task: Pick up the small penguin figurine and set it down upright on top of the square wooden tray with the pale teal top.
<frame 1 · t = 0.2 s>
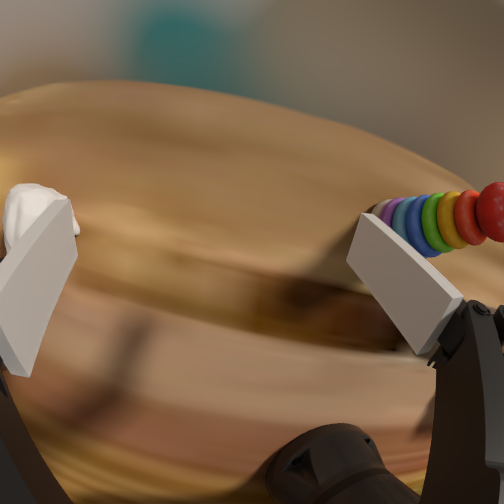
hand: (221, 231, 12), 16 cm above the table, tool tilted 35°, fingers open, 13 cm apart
stacking toy: (388, 232, 33), on the table
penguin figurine: (52, 255, 24), on the table
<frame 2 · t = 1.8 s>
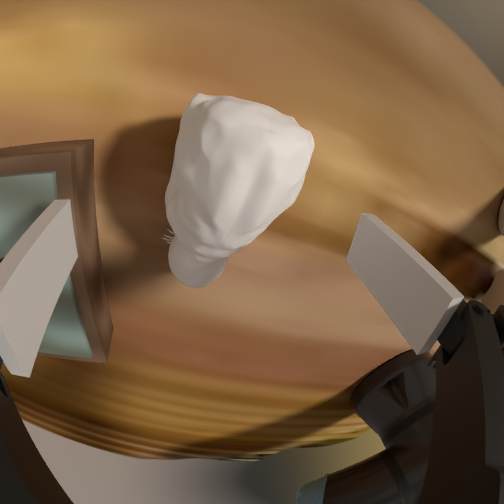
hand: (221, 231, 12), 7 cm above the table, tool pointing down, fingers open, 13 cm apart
square wooden tray: (14, 247, 17), on the table
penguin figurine: (211, 185, 19), on the table
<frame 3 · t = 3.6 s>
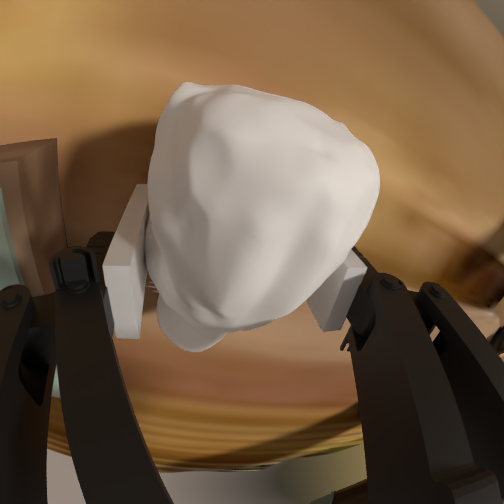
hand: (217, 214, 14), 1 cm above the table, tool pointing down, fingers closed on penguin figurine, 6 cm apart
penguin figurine: (211, 211, 14), point 1 cm above the table, touching gripper
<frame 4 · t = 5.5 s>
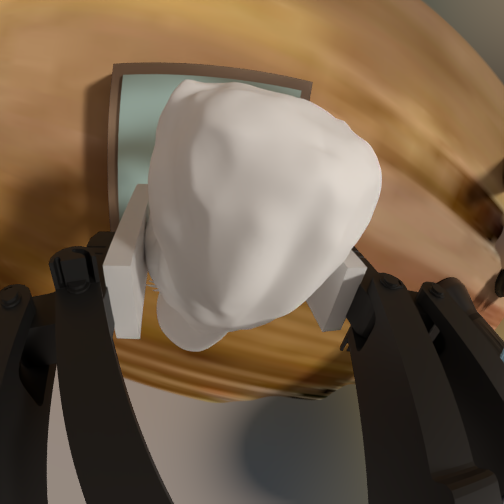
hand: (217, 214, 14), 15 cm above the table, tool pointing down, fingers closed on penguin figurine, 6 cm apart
square wooden tray: (201, 151, 26), on the table
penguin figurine: (211, 210, 14), point 14 cm above the table, touching gripper
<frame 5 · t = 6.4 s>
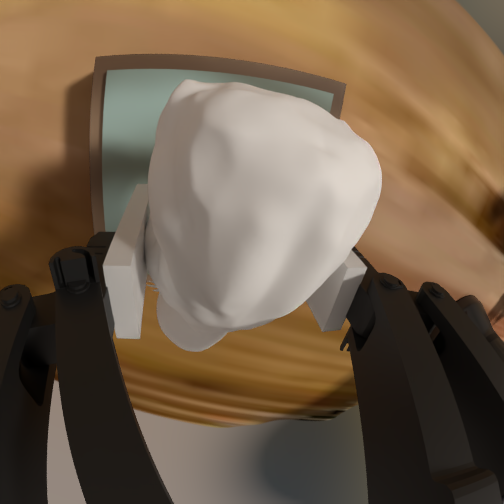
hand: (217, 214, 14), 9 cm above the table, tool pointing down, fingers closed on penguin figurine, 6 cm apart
square wooden tray: (206, 166, 22), on the table
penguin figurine: (211, 210, 14), point 9 cm above the table, touching gripper
when the fingers open (6 cm above the table, at t = 7.3 s): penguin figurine drops 1 cm, resting on square wooden tray.
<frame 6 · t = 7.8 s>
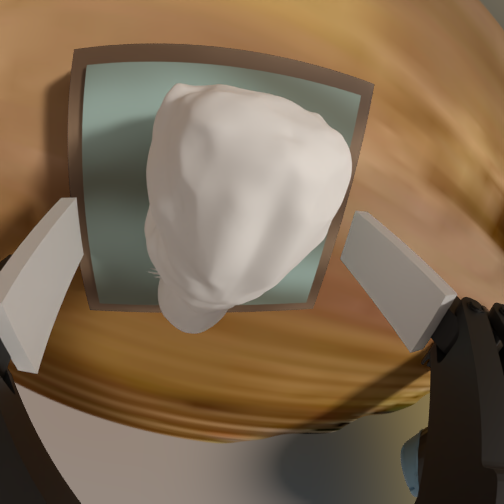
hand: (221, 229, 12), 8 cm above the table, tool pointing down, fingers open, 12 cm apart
square wooden tray: (208, 177, 19), on the table
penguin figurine: (207, 201, 15), point 4 cm above the table, touching square wooden tray
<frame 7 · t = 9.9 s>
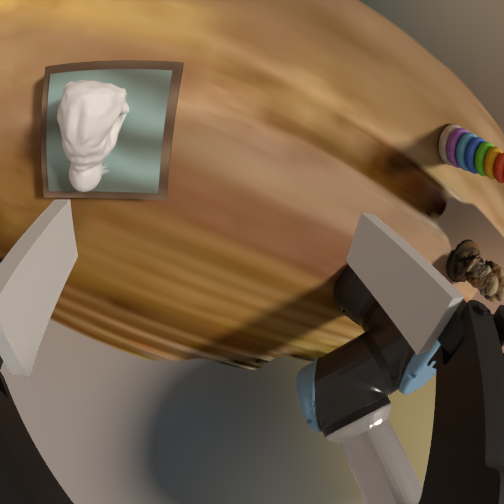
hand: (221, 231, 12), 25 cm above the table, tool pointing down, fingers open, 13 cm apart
stacking toy: (448, 143, 41), on the table
square wooden tray: (110, 125, 30), on the table
owl figurine: (461, 259, 61), on the table
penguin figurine: (98, 132, 26), point 4 cm above the table, touching square wooden tray
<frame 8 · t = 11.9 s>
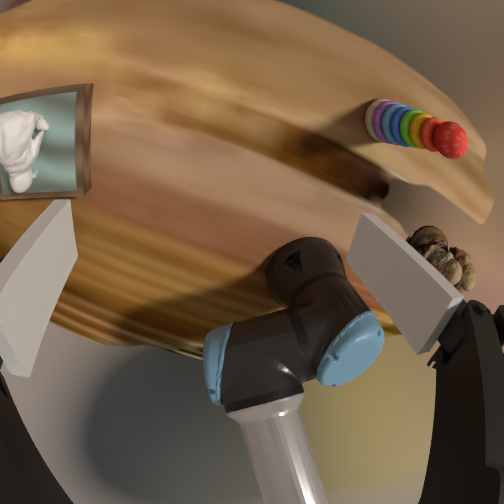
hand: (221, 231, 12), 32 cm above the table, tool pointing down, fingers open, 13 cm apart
stacking toy: (380, 119, 43), on the table
square wooden tray: (45, 140, 33), on the table
owl figurine: (424, 247, 61), on the table
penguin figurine: (31, 146, 29), point 4 cm above the table, touching square wooden tray
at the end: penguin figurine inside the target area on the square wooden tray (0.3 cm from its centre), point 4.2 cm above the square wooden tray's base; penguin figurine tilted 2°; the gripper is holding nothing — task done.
